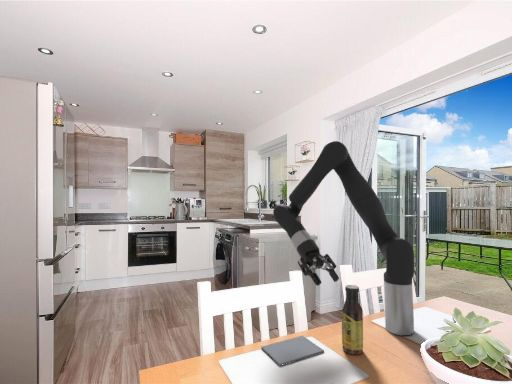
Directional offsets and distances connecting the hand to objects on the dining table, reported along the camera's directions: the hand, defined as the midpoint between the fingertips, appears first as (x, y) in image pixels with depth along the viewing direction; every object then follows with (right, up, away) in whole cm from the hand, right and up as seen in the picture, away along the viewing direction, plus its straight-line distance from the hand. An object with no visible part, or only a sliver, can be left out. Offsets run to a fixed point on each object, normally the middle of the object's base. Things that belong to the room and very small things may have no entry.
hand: (328, 282), depth 94 cm
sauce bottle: (+5, -19, -9) cm, 21 cm away
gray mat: (-14, -19, -8) cm, 24 cm away
